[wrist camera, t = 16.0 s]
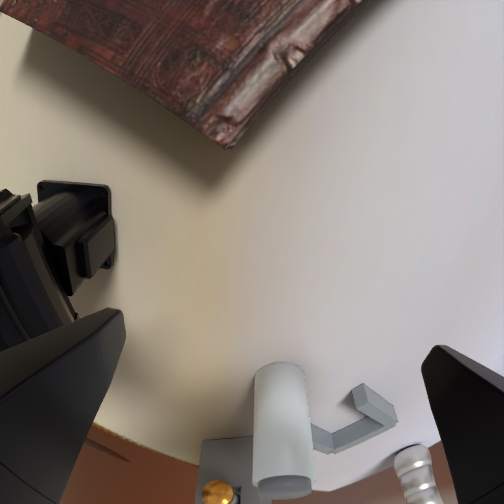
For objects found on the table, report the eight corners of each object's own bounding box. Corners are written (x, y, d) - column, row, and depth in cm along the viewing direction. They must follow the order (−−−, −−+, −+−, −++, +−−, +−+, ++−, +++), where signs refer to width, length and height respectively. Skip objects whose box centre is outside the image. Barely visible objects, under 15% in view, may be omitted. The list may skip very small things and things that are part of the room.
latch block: (202, 440, 35) (193, 518, 24) (259, 434, 33) (258, 519, 23) (217, 454, 37) (211, 525, 26) (270, 449, 36) (271, 525, 25)
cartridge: (251, 389, 29) (247, 499, 18) (259, 359, 26) (258, 484, 16) (297, 393, 29) (305, 500, 18) (310, 364, 27) (326, 484, 16)
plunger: (203, 480, 27) (200, 506, 24) (232, 479, 26) (231, 507, 23) (232, 498, 31) (230, 520, 28) (257, 496, 30) (257, 519, 27)
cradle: (287, 422, 32) (289, 439, 30) (363, 383, 28) (368, 401, 26) (328, 440, 35) (330, 455, 32) (395, 407, 31) (400, 423, 29)
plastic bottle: (395, 447, 38) (417, 549, 20) (431, 436, 37) (458, 533, 19) (387, 460, 41) (405, 552, 23) (420, 450, 40) (442, 539, 22)
